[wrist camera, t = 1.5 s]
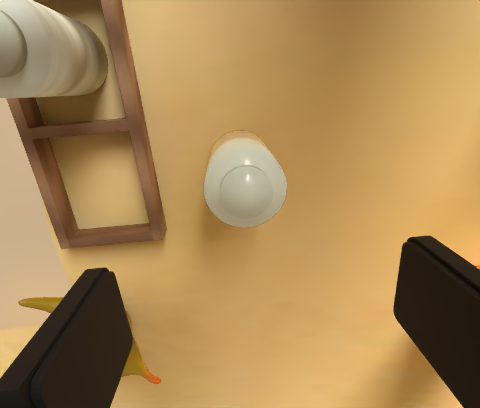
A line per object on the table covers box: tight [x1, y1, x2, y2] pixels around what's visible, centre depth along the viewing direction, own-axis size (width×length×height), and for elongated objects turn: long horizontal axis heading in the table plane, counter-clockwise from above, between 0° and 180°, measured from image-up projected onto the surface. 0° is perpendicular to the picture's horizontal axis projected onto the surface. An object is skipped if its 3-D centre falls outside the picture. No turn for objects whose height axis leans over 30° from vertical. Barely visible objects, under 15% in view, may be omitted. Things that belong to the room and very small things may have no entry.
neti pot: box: [19, 297, 161, 384], centre depth 28 cm, size 4×15×6 cm, turn 50°
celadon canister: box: [204, 131, 287, 227], centre depth 21 cm, size 5×5×9 cm
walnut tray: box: [0, 0, 167, 249], centre depth 19 cm, size 20×9×9 cm, turn 5°
